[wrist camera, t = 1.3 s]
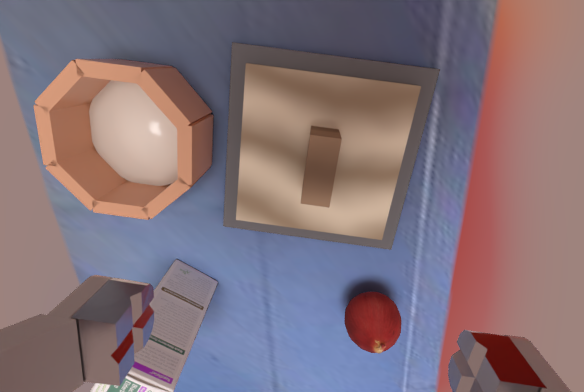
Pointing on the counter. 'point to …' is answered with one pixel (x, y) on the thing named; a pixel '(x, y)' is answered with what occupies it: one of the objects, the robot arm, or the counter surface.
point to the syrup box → (169, 331)
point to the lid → (321, 149)
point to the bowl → (124, 135)
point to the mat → (336, 67)
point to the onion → (373, 321)
